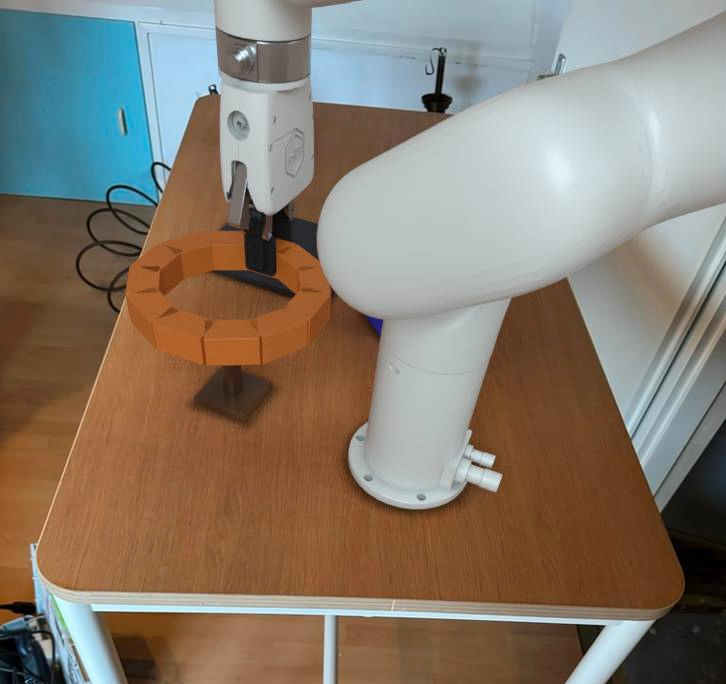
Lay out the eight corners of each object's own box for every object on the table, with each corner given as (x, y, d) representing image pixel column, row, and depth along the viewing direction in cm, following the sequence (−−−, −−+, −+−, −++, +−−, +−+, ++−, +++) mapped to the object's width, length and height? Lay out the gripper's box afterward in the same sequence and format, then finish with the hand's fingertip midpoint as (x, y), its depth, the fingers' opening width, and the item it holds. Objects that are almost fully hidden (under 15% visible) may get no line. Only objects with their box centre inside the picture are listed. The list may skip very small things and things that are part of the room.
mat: (372, 245, 94) (373, 240, 93) (322, 306, 82) (323, 301, 82) (250, 209, 97) (250, 203, 97) (186, 263, 86) (186, 257, 85)
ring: (355, 286, 65) (358, 260, 63) (275, 389, 53) (274, 363, 51) (198, 240, 68) (196, 214, 66) (90, 328, 57) (82, 300, 55)
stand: (271, 389, 71) (270, 330, 65) (245, 423, 67) (241, 362, 61) (223, 373, 72) (218, 312, 66) (194, 405, 68) (186, 344, 62)
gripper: (258, 93, 46) (265, 314, 60) (345, 41, 56) (334, 239, 70) (167, 71, 47) (194, 291, 61) (269, 24, 58) (272, 221, 71)
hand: (269, 262), depth 65 cm, fingers closed on ring, 2 cm apart
